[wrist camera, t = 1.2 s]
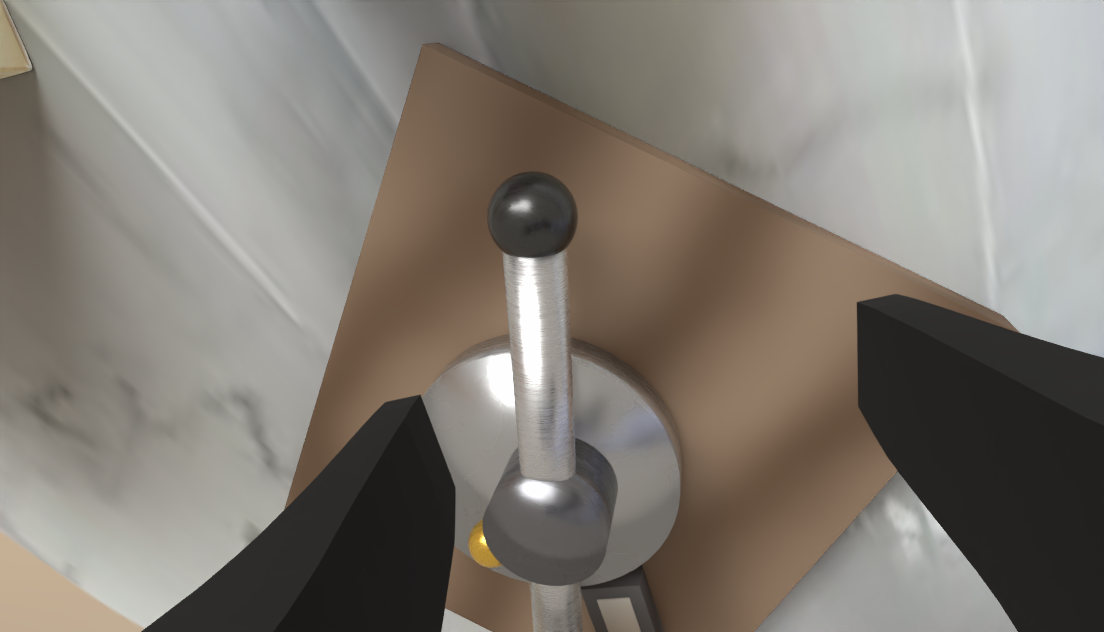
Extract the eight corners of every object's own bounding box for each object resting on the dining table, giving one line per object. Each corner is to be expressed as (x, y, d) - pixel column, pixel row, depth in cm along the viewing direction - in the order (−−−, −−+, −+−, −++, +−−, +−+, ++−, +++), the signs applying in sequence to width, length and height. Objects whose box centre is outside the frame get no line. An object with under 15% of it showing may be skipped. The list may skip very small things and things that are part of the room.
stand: (1002, 315, 19) (1037, 350, 17) (674, 695, 28) (671, 748, 26) (438, 43, 19) (406, 45, 17) (296, 505, 28) (264, 542, 26)
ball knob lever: (674, 680, 25) (667, 791, 22) (454, 645, 27) (414, 741, 24) (693, 147, 17) (688, 182, 14) (380, 151, 19) (302, 182, 16)
